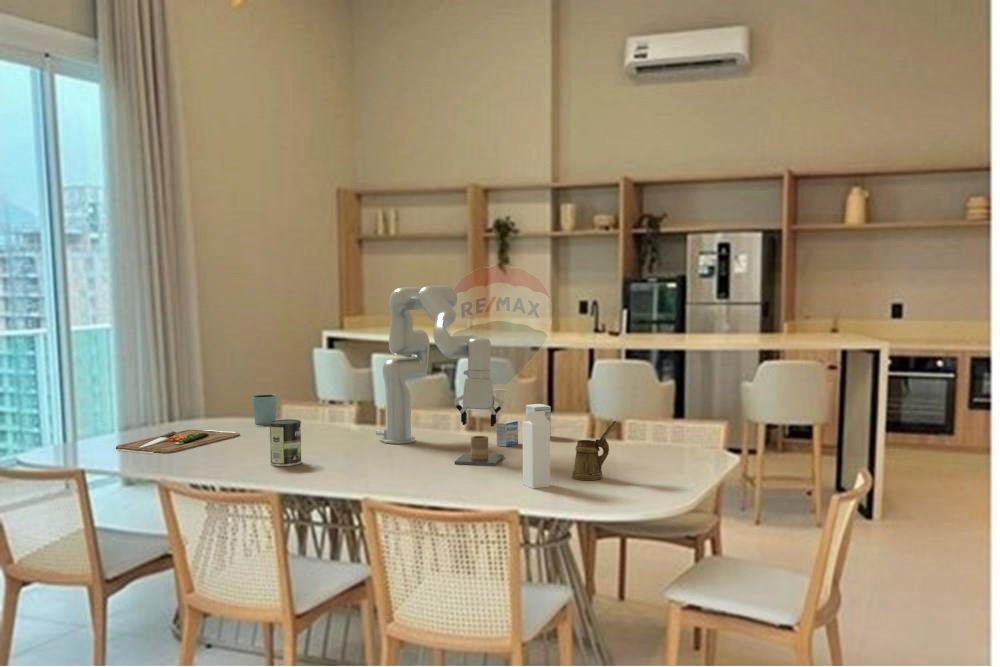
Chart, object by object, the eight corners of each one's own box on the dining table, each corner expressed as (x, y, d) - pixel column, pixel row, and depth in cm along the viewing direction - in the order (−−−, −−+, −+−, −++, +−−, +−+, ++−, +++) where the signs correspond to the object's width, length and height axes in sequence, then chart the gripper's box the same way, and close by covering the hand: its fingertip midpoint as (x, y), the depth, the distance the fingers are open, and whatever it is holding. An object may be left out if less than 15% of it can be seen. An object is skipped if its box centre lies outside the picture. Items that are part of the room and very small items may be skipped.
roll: (469, 459, 285) (469, 438, 285) (473, 455, 291) (473, 435, 291) (486, 459, 284) (486, 438, 284) (489, 456, 290) (489, 436, 290)
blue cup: (281, 422, 370) (281, 394, 370) (266, 425, 361) (266, 397, 361) (263, 420, 375) (262, 393, 374) (247, 424, 365) (247, 396, 365)
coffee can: (303, 459, 290) (303, 418, 290) (298, 466, 280) (298, 423, 279) (273, 460, 290) (272, 419, 289) (266, 466, 279) (266, 424, 279)
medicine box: (505, 447, 312) (505, 423, 311) (496, 445, 315) (496, 422, 314) (518, 444, 318) (518, 420, 318) (509, 442, 321) (508, 419, 320)
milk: (522, 484, 253) (521, 411, 252) (540, 482, 256) (539, 409, 255) (532, 489, 248) (532, 413, 247) (550, 486, 251) (550, 412, 249)
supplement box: (525, 436, 333) (525, 404, 332) (541, 435, 336) (541, 403, 336) (534, 439, 326) (534, 407, 326) (551, 438, 330) (551, 405, 329)
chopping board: (163, 456, 299) (163, 448, 299) (106, 451, 309) (106, 443, 309) (247, 435, 341) (247, 427, 341) (194, 431, 351) (193, 424, 351)
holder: (454, 464, 282) (454, 442, 282) (464, 455, 296) (464, 434, 296) (496, 465, 280) (496, 443, 279) (504, 457, 293) (503, 436, 293)
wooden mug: (613, 482, 255) (613, 423, 254) (569, 479, 260) (569, 420, 259) (618, 476, 264) (619, 418, 263) (576, 473, 268) (576, 416, 267)
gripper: (451, 375, 284) (450, 425, 285) (502, 377, 281) (501, 428, 282) (456, 372, 292) (456, 422, 293) (506, 374, 288) (505, 424, 290)
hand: (478, 425), depth 288 cm, fingers open, 9 cm apart
